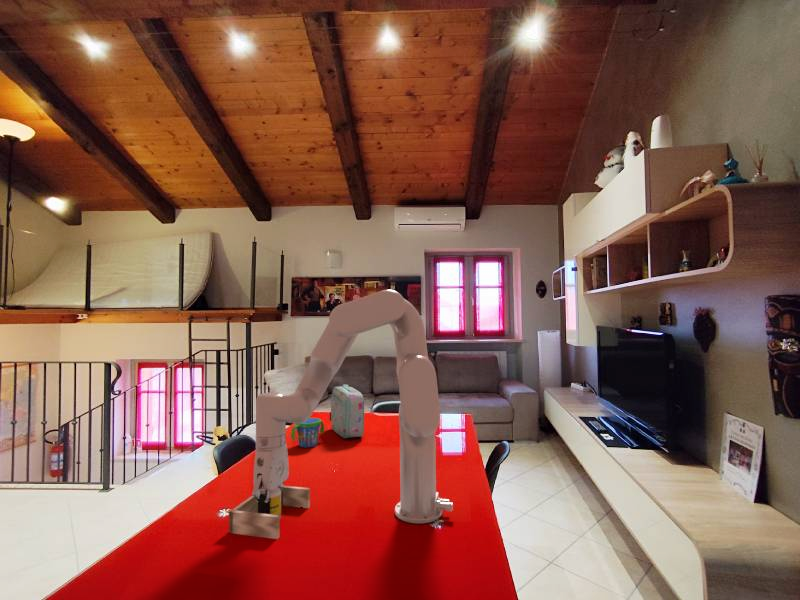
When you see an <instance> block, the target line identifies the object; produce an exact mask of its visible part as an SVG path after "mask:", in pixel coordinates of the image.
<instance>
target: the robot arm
mask: <svg viewBox="0 0 800 600" xmlns="http://www.w3.org/2000/svg"><path fill="white" fill-rule="evenodd" d="M402 295H403V294H401V293H399V292H398V291H396V290H394V289H383V290H380V291H377V292H374V293H372V294H369V295H365V296H362V297H359V298H357V299H354V300H350V301H347V302H343V303H340V304H338V305H336V306H335V307H334V308H333V309H332V310H331V312H330V314H329V317H328V323H326V326H325V328H324V330H323V332H322V333H321V335H320V337H319V339H318V341H317V343H316V344H315V346H314V348H313V349H312V350H311V354H310V357H309V358H310V359H309V363H308V366H307V368H306V371H305V373H304V374H303V377H302V378H301V380H300V382H299V384H298V386H297V387H296V389H295V391H294V392H293V393H291V394H288V395H285V393H284V392H283V393H282V392H278V391H274V392H271V391H270V392H265V393H264V392H263V393H260V394H259V395H257V397H256V399H255V455H254V461H253V462H254V463H253V489H252V493H251V496H254V497H255V498H256V499H257V502H258V513H263V514H270V501H269V495H270V491H272V490H273V489H275V488H276V487H277V486H278V487H279V488H280V489H281V508H282V507H283V489H284V486H285V485H284V484H285V481H286V480H288V478H289V476H290V475H289V473H290V468H289V467H290V466H289V455H288V454H289V452H288V445H287V441H286V440H287V437H286V436H287V435H286V434H287V433H286V429H287V428H286V425H287V424H286V423H288V424H289V423H290V424H295V423H302V422H305V421H306V420H308V419H309V418H311V416H312V415H313V413H314V412H315V410H316V409H317V407H318V405H319V403H320V401H321V399H322V398H323V396H324V394H325V393H326V390H327V388H328V387H329V385H330V383H331V381H332V380H333V378H334V376H335V375H336V374H337V373H338V371H339V369H340V367H341V366H342V364H343V362H344V360H345V359H346V356H347V355H348V353H349V352H350V349H351V348H352V346H353V344H354V342H355V341H356V339H357V337H358V335H359V334H362V333H365V332H369V331H371V330H374V329H377V328H380V327H383V326H386V325H390V327H391V329H392V331H393V338H394V345H395V355H396V376H397V380H398V381H397V382H398V388H399V389H398V390H399V401H400V402H399V408H398V424H399V474H400V475H399V480H400V482H399V484H400V486H399V487H400V491H399V492H400V495H399V497H400V501H399V502H398V503H397V504H396V505H395V506H394V514H395V516H396V518H398V519H399V520H401V521H403V522H406V523H411V524H428V523H432V522H434V521H437V520H438V519H439V518H441V516H442V514H443V511H447V512H453V510H454V503H453V502H450V499H448V498H442V497H439V492H438V491H437V475H436V474H437V473H436V472H437V469H436V431H437V429H438V427H439V425H440V421H441V411H440V410H441V409H440V399H439V388H438V378H437V372H436V369H435V366H434V365H433V362H432V361H431V359H429V354H428V345H427V337H426V331H425V330H426V329H425V325H424V321H423V319H422V316H421V314H420V313H419V311H418V310H417V309H416V307H415V306H414V305H413V304H412V303H411V302H410V301H408V300H407V299H405V298H404V297H403V296H402ZM263 486H264V488H263ZM262 491H266V493H265V496H264V494H262Z"/></svg>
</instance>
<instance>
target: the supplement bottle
mask: <svg viewBox="0 0 800 600" xmlns="http://www.w3.org/2000/svg"><path fill="white" fill-rule="evenodd" d="M262 488H264V486H262ZM265 493H266V491H262V494H264V496H265ZM269 501H270V514H272V515H279V520H280V519H281V518H282V507H281V489H280V488H279V487H278V486H277V487H276V488H275V489H273V490H272V491H270V495H269Z"/></svg>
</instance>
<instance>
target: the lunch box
mask: <svg viewBox="0 0 800 600" xmlns="http://www.w3.org/2000/svg"><path fill="white" fill-rule="evenodd" d="M329 422H330V423H331V424H330V425H331V429H332V430H333V431H334V432H335V433H336V434H338V436H340V437H341V438H343V439H351V438H359V437H360V438H362V437H363V435H364V429H365V428H364V427H365V399H364V395H363V394H362V392H360V391H359V390H357V389H356V388H354V387H352V386H349V384H347V383H346V384H342V385H341V386H334V387H333V389H332V392H331V402H330V411H329Z"/></svg>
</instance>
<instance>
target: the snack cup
mask: <svg viewBox="0 0 800 600" xmlns="http://www.w3.org/2000/svg"><path fill="white" fill-rule="evenodd" d="M324 425H325V424H324V421H323V420H321V419H320V418H316V417H310V418H309V419H308V420H306V421H305V422H302V423H294V425H293V426H292V429H291V432H290V439H291V441H292V442H295V441H296V435H297V442H298V446H299V447H301V448H312V447H315V446H317V445H318V440H319V435H320V434H324V433H325V426H324Z"/></svg>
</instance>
